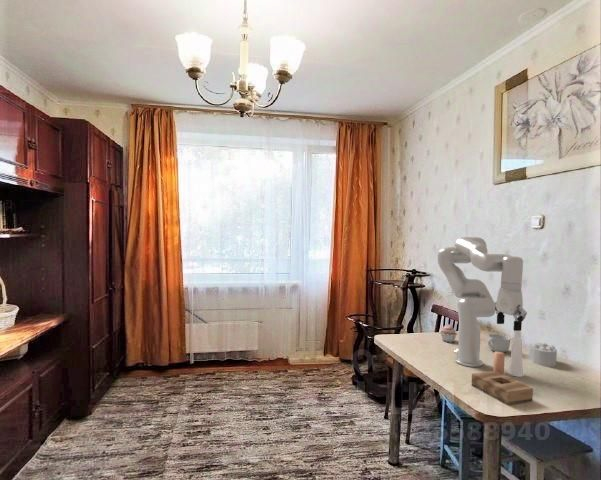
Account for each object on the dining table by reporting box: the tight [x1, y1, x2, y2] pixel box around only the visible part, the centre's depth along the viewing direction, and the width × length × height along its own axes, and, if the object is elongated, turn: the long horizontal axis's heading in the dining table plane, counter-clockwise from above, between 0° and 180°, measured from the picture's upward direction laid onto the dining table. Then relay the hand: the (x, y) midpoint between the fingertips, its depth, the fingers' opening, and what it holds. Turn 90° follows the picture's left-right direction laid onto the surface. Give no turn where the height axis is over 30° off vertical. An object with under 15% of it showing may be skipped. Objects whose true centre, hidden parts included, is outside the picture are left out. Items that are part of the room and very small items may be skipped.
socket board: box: [470, 370, 534, 406], centre depth 150 cm, size 18×12×5 cm, turn 18°
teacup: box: [487, 333, 512, 353], centre depth 204 cm, size 14×11×8 cm
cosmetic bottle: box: [508, 330, 525, 378], centre depth 170 cm, size 6×6×22 cm
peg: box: [492, 351, 506, 375], centre depth 162 cm, size 4×4×12 cm
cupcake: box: [439, 323, 458, 343], centre depth 221 cm, size 9×9×10 cm
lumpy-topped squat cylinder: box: [528, 342, 558, 368], centre depth 188 cm, size 10×13×9 cm
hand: (508, 327), depth 159 cm, fingers open, 9 cm apart
